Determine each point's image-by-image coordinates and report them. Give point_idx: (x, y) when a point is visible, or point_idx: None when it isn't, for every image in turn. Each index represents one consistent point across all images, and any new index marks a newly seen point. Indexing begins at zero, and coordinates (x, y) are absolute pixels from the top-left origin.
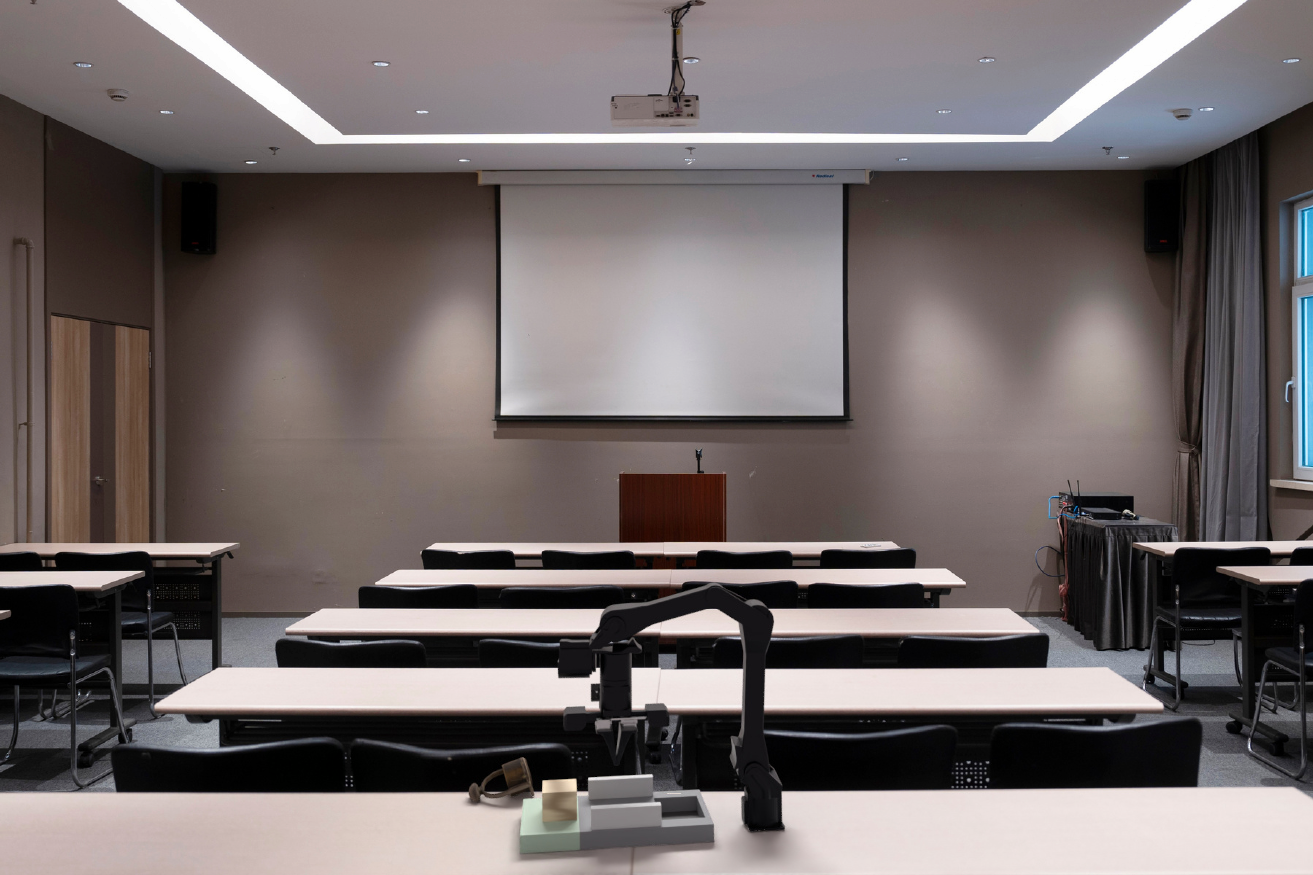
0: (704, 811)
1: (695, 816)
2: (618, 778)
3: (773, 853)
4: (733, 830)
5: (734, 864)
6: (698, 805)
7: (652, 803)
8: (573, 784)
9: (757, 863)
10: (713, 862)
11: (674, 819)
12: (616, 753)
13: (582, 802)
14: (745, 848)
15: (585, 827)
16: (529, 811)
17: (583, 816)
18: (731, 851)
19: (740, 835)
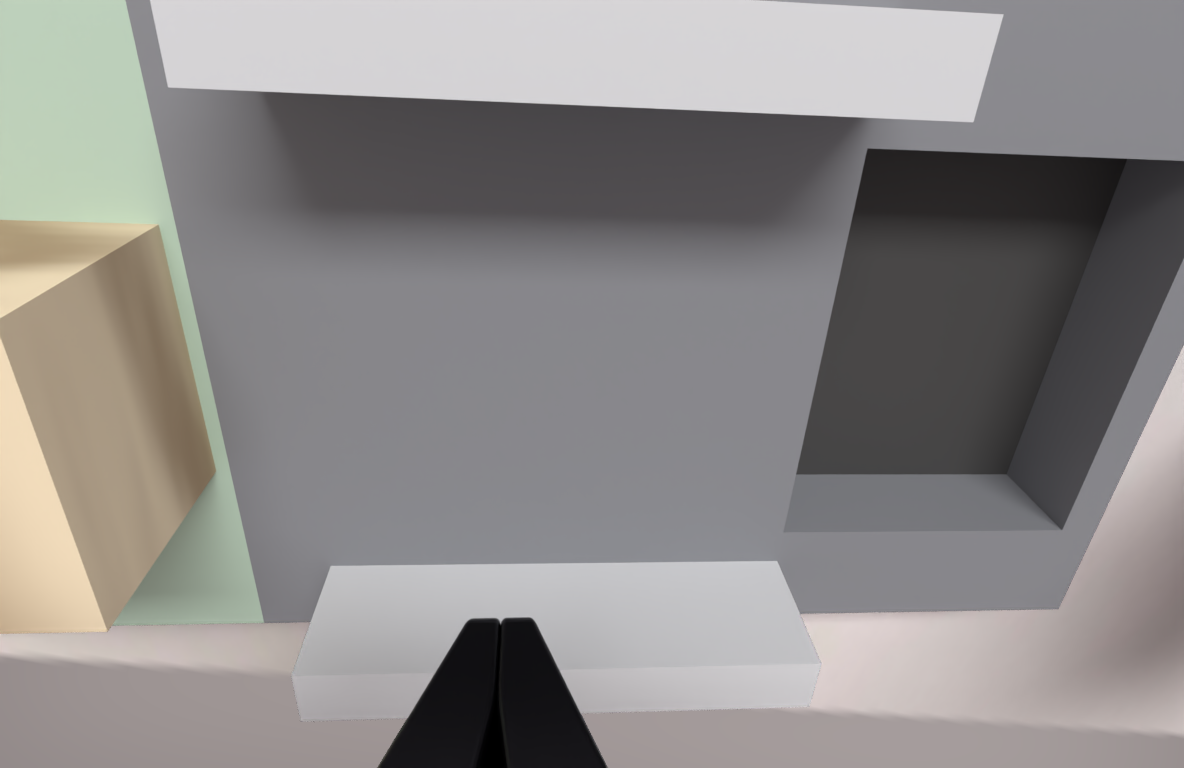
0: (1106, 452)
1: (1069, 247)
2: (562, 83)
3: (1175, 655)
4: (1166, 438)
5: (974, 714)
6: (1150, 250)
7: (759, 677)
8: (19, 482)
9: (1062, 714)
10: (902, 696)
11: (872, 533)
12: (500, 756)
13: (200, 133)
14: (1097, 610)
15: (294, 574)
16: None
17: (256, 418)
18: (1023, 627)
19: (1161, 495)
